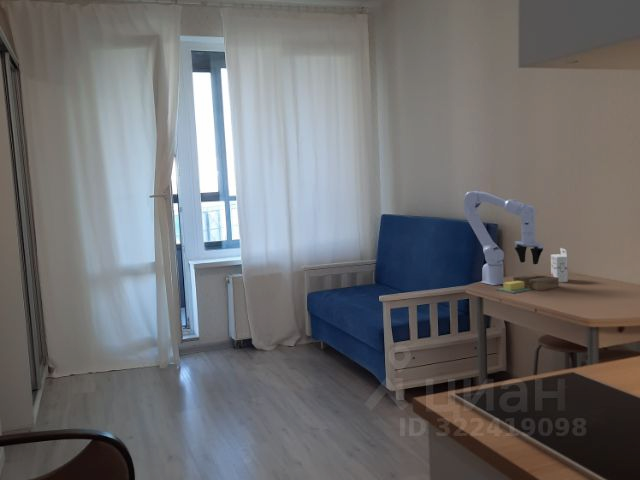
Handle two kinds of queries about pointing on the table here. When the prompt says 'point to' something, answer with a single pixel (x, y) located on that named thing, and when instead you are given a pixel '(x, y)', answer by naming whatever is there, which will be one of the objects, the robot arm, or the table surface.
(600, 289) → the table surface
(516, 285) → the slab
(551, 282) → the pocket board
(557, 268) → the ink cartridge box
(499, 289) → the mat
